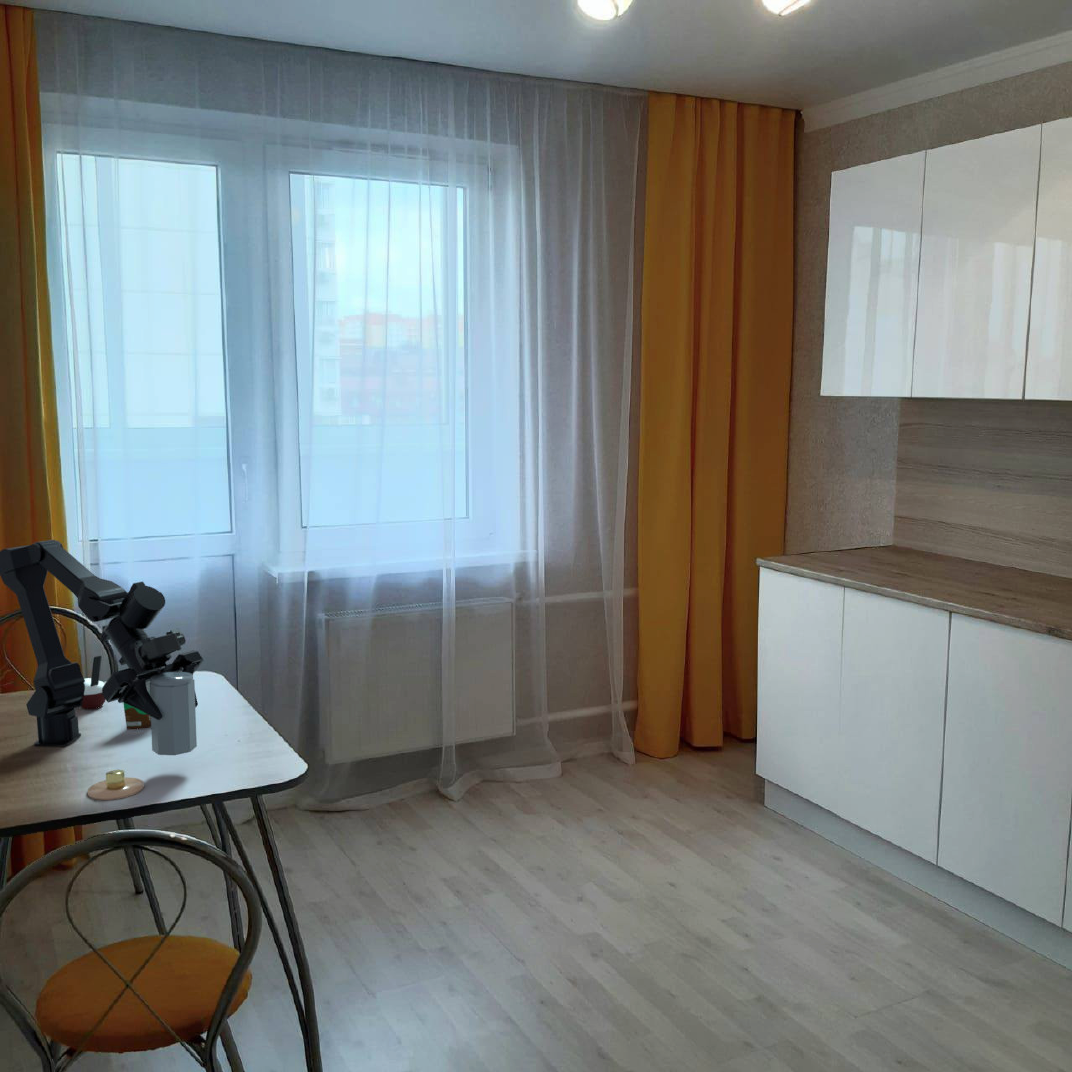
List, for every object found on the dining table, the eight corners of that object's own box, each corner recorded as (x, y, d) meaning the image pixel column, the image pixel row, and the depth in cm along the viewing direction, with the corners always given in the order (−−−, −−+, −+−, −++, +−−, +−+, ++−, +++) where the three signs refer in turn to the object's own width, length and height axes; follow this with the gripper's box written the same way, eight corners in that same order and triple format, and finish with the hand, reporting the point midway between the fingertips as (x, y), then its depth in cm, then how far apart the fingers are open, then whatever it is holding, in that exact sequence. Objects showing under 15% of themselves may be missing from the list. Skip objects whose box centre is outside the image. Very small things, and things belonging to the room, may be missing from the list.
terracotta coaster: (78, 799, 180) (77, 796, 180) (103, 779, 189) (102, 776, 188) (129, 800, 179) (129, 797, 179) (152, 780, 188) (152, 777, 188)
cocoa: (76, 705, 234) (70, 652, 232) (107, 700, 236) (101, 647, 235) (77, 715, 225) (70, 660, 224) (109, 710, 228) (103, 655, 226)
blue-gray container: (146, 754, 188) (143, 681, 186) (163, 741, 195) (160, 671, 194) (186, 756, 188) (183, 683, 186) (201, 742, 195) (199, 672, 193)
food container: (150, 733, 213) (147, 685, 212) (122, 731, 215) (119, 683, 213) (182, 714, 225) (179, 668, 224) (156, 713, 227) (153, 667, 225)
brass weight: (103, 790, 182) (102, 776, 182) (111, 783, 185) (110, 769, 185) (120, 790, 182) (119, 776, 182) (128, 783, 185) (127, 770, 185)
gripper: (108, 627, 182) (155, 699, 178) (194, 607, 198) (239, 673, 194) (81, 666, 187) (127, 737, 183) (167, 643, 203) (211, 708, 199)
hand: (178, 712), depth 190 cm, fingers closed on blue-gray container, 8 cm apart
